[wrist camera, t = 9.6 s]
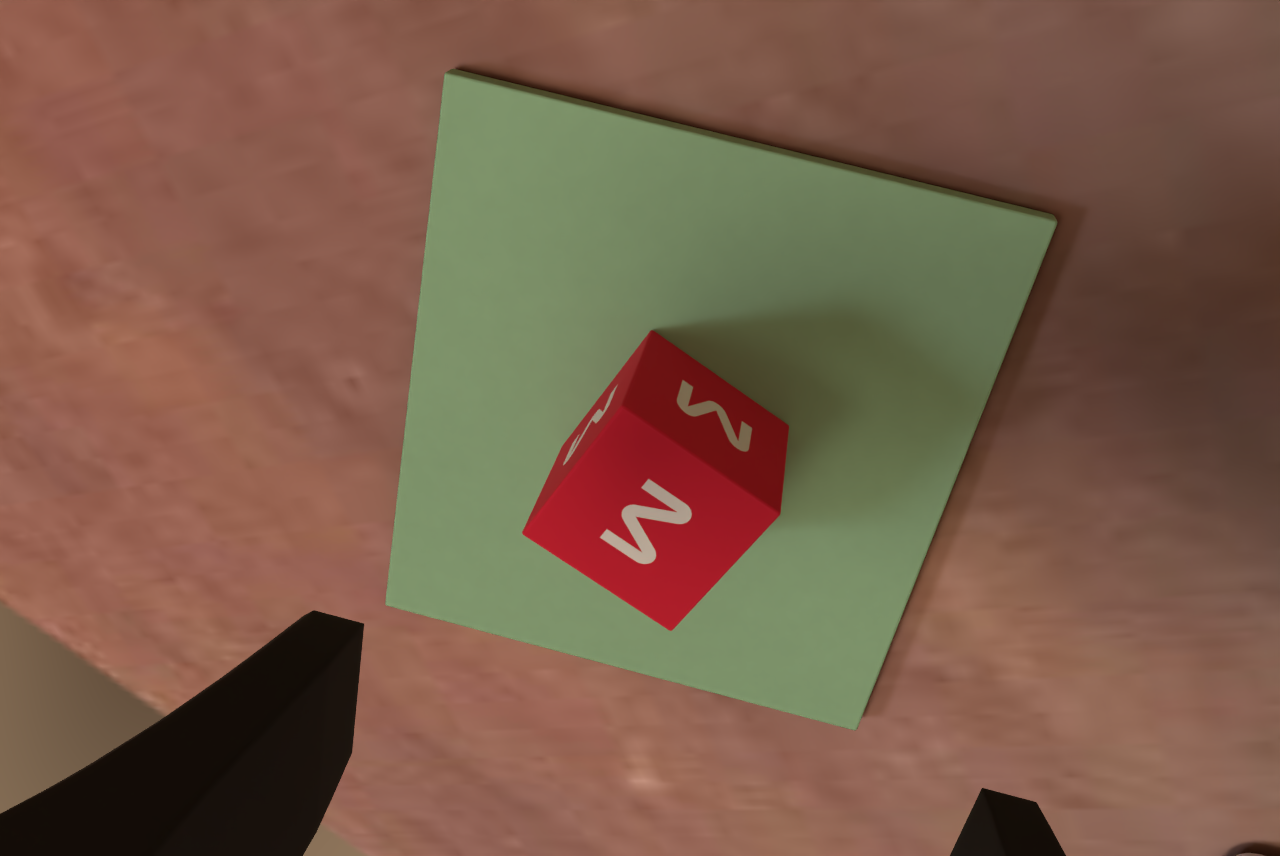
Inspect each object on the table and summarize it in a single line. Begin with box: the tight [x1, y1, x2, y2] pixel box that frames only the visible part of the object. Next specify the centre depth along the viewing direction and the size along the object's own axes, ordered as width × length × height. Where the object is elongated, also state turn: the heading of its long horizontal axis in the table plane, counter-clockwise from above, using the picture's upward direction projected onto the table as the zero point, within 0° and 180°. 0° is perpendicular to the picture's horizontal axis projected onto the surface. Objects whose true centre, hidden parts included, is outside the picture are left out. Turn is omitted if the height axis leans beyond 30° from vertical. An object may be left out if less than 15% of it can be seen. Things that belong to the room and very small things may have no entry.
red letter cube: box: [522, 330, 789, 631], centre depth 19 cm, size 3×3×3 cm
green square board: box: [385, 69, 1057, 730], centre depth 21 cm, size 11×10×1 cm
